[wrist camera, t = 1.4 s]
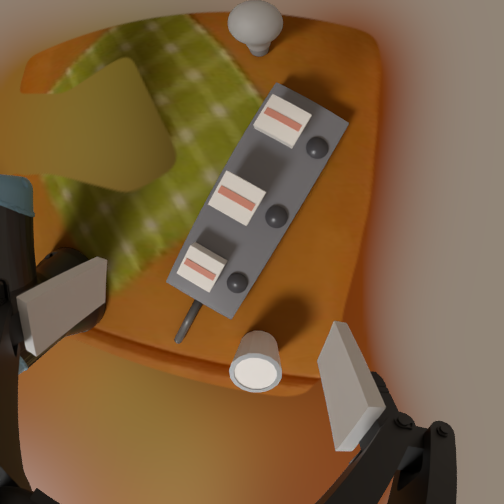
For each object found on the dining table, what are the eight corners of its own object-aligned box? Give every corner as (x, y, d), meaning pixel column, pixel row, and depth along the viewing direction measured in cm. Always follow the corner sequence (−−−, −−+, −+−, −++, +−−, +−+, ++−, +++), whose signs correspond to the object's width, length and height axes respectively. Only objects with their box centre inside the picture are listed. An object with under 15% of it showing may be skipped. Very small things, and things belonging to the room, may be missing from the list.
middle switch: (212, 203, 30) (207, 204, 28) (229, 171, 29) (226, 170, 27) (248, 223, 30) (246, 226, 28) (266, 192, 29) (265, 192, 27)
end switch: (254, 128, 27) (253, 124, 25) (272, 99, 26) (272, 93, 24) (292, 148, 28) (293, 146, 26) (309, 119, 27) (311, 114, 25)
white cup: (276, 322, 38) (276, 349, 31) (285, 359, 40) (286, 389, 33) (230, 331, 39) (222, 357, 32) (242, 366, 41) (237, 395, 34)
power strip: (151, 324, 40) (142, 333, 37) (276, 90, 31) (276, 81, 28) (205, 355, 41) (200, 367, 37) (343, 128, 31) (349, 122, 28)
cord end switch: (181, 268, 34) (176, 273, 32) (195, 241, 33) (190, 245, 31) (212, 286, 34) (209, 292, 32) (227, 260, 33) (224, 265, 31)
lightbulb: (251, 76, 31) (241, 36, 20) (229, 47, 30) (213, 4, 19) (290, 58, 29) (294, 15, 19) (267, 29, 28) (263, -16, 18)
